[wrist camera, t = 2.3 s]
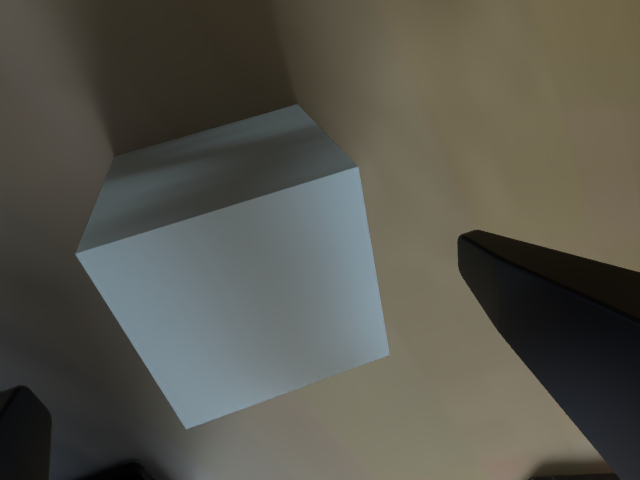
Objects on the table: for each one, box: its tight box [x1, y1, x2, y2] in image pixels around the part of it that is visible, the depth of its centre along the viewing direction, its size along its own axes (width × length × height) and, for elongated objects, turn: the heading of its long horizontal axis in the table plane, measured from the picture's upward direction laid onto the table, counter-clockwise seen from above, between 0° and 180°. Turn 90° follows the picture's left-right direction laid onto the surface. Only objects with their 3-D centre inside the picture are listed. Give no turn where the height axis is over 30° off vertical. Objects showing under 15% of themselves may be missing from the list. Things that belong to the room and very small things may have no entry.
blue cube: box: [75, 104, 389, 429], centre depth 11 cm, size 5×5×5 cm
